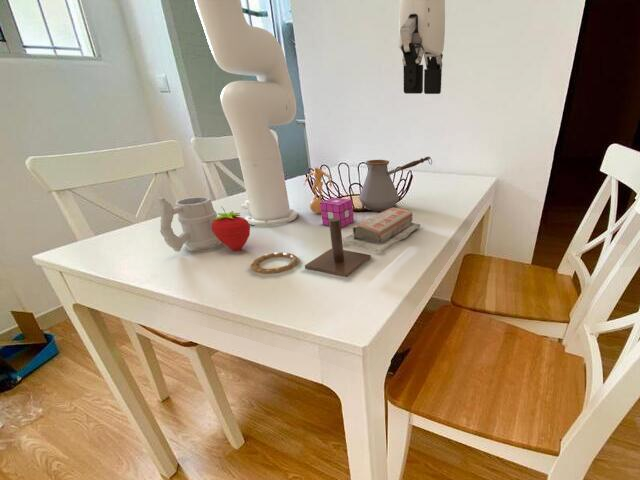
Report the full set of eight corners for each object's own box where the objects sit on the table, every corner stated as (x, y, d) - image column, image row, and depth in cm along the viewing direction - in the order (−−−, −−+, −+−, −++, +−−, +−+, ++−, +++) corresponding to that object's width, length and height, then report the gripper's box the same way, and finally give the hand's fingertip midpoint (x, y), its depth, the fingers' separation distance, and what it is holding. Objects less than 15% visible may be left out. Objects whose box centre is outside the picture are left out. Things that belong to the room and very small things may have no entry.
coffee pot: (352, 210, 97) (348, 155, 90) (370, 200, 107) (368, 149, 100) (423, 219, 91) (424, 160, 83) (436, 207, 100) (438, 153, 93)
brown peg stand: (305, 271, 64) (297, 223, 59) (332, 253, 71) (328, 209, 67) (346, 280, 61) (341, 230, 56) (371, 260, 68) (368, 215, 63)
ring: (242, 271, 63) (240, 265, 63) (274, 254, 70) (273, 249, 70) (277, 279, 61) (276, 273, 60) (307, 261, 67) (306, 255, 67)
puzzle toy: (336, 218, 91) (333, 197, 88) (354, 221, 89) (352, 199, 86) (322, 224, 86) (319, 202, 84) (341, 228, 84) (339, 205, 82)
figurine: (301, 214, 94) (294, 169, 89) (312, 208, 99) (306, 165, 94) (328, 216, 92) (323, 170, 87) (338, 210, 97) (334, 166, 92)
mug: (234, 241, 76) (219, 187, 70) (185, 263, 67) (164, 202, 61) (208, 237, 79) (193, 184, 73) (158, 256, 69) (136, 197, 63)
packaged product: (385, 203, 86) (420, 209, 82) (385, 222, 88) (420, 228, 84) (340, 224, 72) (380, 232, 68) (342, 245, 74) (381, 255, 70)
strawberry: (244, 259, 68) (232, 210, 63) (211, 256, 69) (197, 208, 65) (261, 248, 73) (251, 202, 68) (230, 245, 74) (218, 200, 70)
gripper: (422, -16, 61) (420, 94, 69) (378, -50, 47) (382, 93, 55) (463, -21, 58) (456, 94, 66) (430, -58, 44) (426, 93, 52)
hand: (423, 93), depth 61 cm, fingers open, 9 cm apart
